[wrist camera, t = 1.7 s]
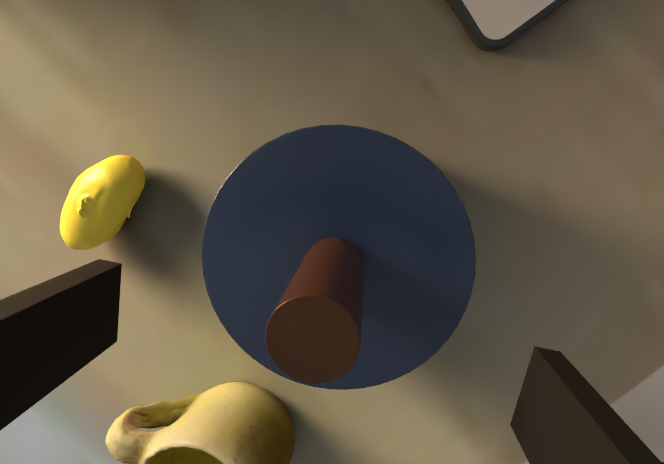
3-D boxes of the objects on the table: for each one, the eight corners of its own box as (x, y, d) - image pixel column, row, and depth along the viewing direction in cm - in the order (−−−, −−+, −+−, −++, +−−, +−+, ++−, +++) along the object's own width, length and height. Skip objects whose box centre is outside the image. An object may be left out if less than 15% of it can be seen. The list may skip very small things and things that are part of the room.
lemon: (171, 180, 30) (141, 186, 26) (107, 255, 31) (70, 271, 27) (127, 139, 29) (90, 138, 25) (64, 217, 31) (22, 227, 27)
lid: (224, 103, 20) (112, 74, 11) (501, 152, 19) (607, 159, 11) (198, 350, 23) (93, 475, 14) (436, 399, 23) (477, 563, 14)
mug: (343, 436, 30) (266, 570, 22) (274, 481, 36) (190, 603, 27) (234, 315, 32) (121, 397, 23) (182, 375, 37) (75, 460, 29)
